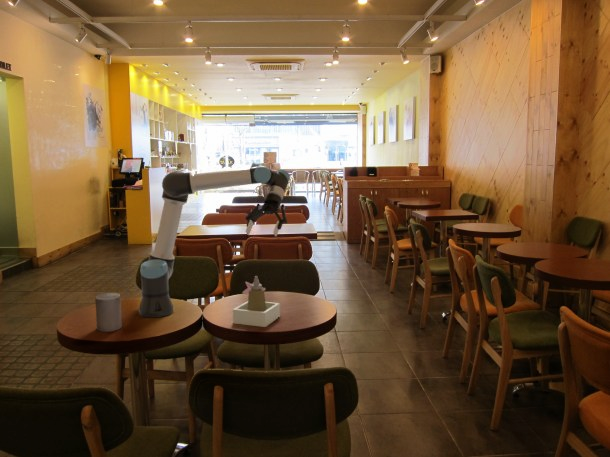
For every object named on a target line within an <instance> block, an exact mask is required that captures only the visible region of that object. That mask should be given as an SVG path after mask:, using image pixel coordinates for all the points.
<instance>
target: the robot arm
mask: <svg viewBox="0 0 610 457" xmlns="http://www.w3.org/2000/svg"><path fill="white" fill-rule="evenodd" d="M290 177H291V176H290V173H289V172H288V171H287V170H286V169H281V168H280V169H276V170H272V169H270V168H269V167H267V166H265V165H262V164H260V163H257V162H253V163H252V164H251V166H250V167H244V168H237V169H236V168H235V169H228V170H227V169H226V170H219V171H218V170H216V171H210V172H202V173H193V172H185V171H184V172H182V171H178V170H175V171H171V172H168V173H167V174H166V175H164V177H163V179H162V182H161V187H162V190H163V191H162V195H161V198H162V200H163V201H164V202H163V207H162V212H161V217H160V221H159V227H158V230H157V236H156V240H155V243H154V244H155V245H154V250H153V251H152V252H149V256H148V260H147V261H144V262H142V263H141V265H140V270H139V271H140V280H141V281H140V283H141V300H140V304H139V308H138V315H139V317H143V318H159V317H165V316H169V315H171V314H173V313H174V310H175V309H174V305H173V303H172V300H171V297H170V293H169V291H170V290H169V289H170V288H169V279H170V278H171V277H172V275H173V273H174V264H175V258H176V257H175V255H174V254H173V253H174V249H175V245H176V239H177V234H178V230H179V225H180V220H181V215H182V211H183V206H184V205H185V204H187V202H188V199H189V195H194V194H195V193H196V192H199V191H206V190H215V189H223V188H231V187H238V186H239V187H240V186H246V185H256V184H265V185H266V186H269V188H268V191H267V193H266V195H265V198H264V203H263V204H260V203H257V204H256V205H255V207H254V208H253V209H252V210H251V211H250V212H249V213H248V214H247V216H245V217H244V218H245V221H246V225H245V226H246V230H245V234H246V235H248V236H250V234H251V231H252V228H253V226H254V222H255V221H256V220H259V219H260V218H261V217H262V216H265V215H275V217H276V219H277V221H276V224H275V227H274V229H273V232H272V234H273V235H274V237H277V236H278V233H279V230H281V229H282V227H283V225H284V224H288V219H287V214H286V206H285V204H282V201H283V199H284V195H285V192H286V190H287V187H288V186H289V180H290ZM279 210H280V211H281V216H282V217H281V216H280V215H279V213H278V211H279Z"/></svg>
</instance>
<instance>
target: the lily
mask: <svg viewBox="0 0 610 457" xmlns="http://www.w3.org/2000/svg"><path fill="white" fill-rule="evenodd" d="M253 283H254V281H253V282H252V283H250V282H248V281H245V285H246V287H247V288H246V289H244V290H243V291H242V294H244V295H248V296H249V290H250V289H251V285H252V284H253ZM262 289H263V290H264V291H266V287H263V286H262Z"/></svg>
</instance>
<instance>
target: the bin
mask: <svg viewBox="0 0 610 457" xmlns="http://www.w3.org/2000/svg"><path fill="white" fill-rule="evenodd" d="M265 302H266V311H264V312H260V311H251V310H248V300H247V301H246V302H243V303H242V304H240V305H238V306H236V307H234V308H233V309H232V323H233V324H236V325H237V324H238V325H245V326H246V325H247V326H253V327H255V326H256V327H263V328H265V327H268V326H269V325H270V324H272V323H273V322H274V321H277V319H279V318H280V317H281V303H279V302H270V301H265ZM278 317H279V318H278Z"/></svg>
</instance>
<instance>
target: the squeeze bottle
mask: <svg viewBox="0 0 610 457" xmlns="http://www.w3.org/2000/svg"><path fill="white" fill-rule="evenodd" d="M253 282H254V283H253ZM253 282H252V283H251V284H252V285H251V289H250V290H249V295H248V300H247V301H248V310H251V311H260V312H264V311H266V302H267V301H266V295H265V290H263V289H262V287H263V285H262V284H261V283H260V280H259V277H258V275H255V276H254V279H253Z"/></svg>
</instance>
